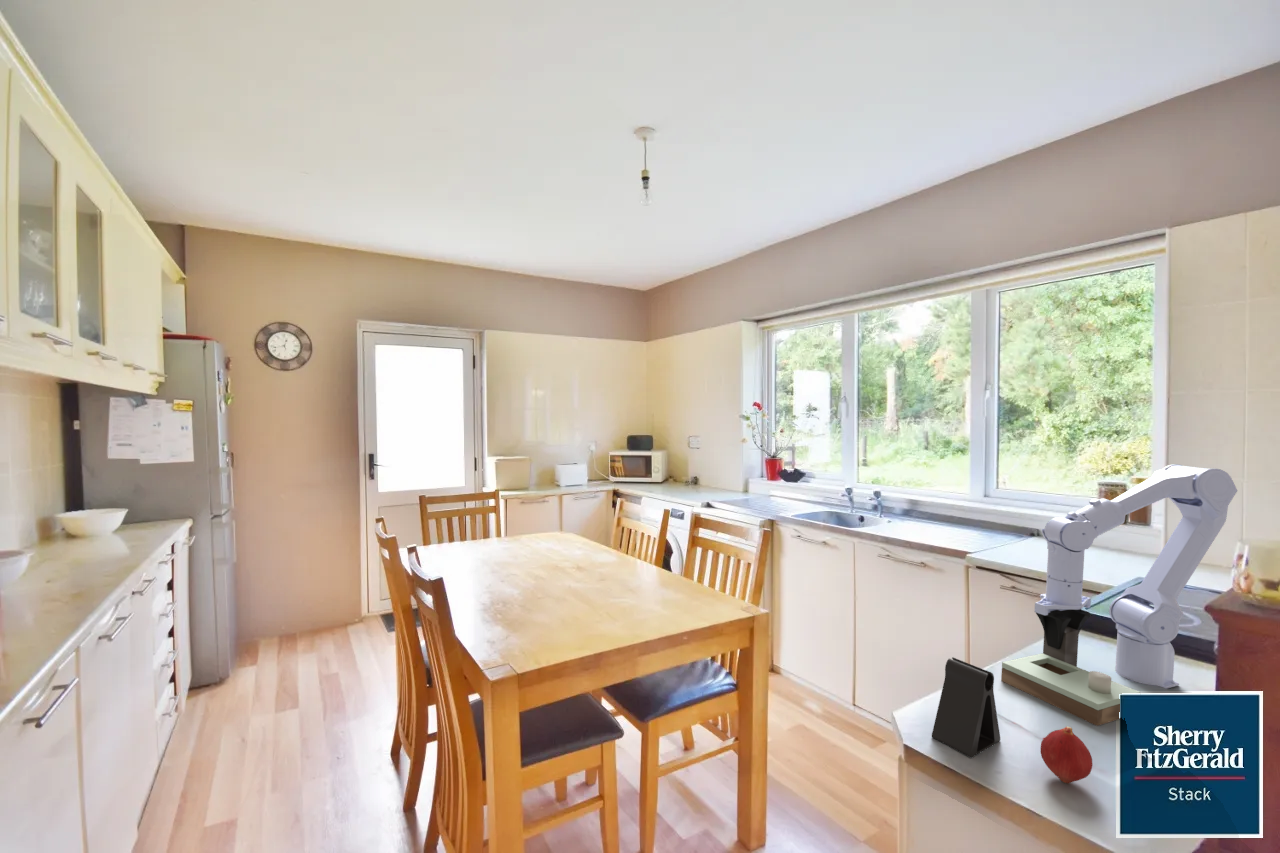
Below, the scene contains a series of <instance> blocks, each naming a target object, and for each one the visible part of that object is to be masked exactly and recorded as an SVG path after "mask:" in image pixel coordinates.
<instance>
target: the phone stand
mask: <svg viewBox="0 0 1280 853" xmlns="http://www.w3.org/2000/svg"><path fill="white" fill-rule="evenodd" d="M944 670H945V671H944V681H943V686H942V689H941V693H940V699H939V701H938V702H939V703H938V707H937V711H936V714H935V720H934V725H933V727H932V728H933V729H932V732H931V738H933V739H934V738H935V740H936V739H937V740H936V741H938V742H940V743H942V744H944V745H946V746H948V747H949V748H951V749H953V750H955V751H957V752H959V753H960V754H962V755H964V756H967V757H968V758H970V759H973V758H974V757H976V756H977V755H979V754H981V753H983V752H984V751H986V750H987V748H988V749H989V748H991V747H993V746H995V745H996V744H998V743H999V742H1001V735H1000V734H1001V733H1000V727H999V720H998V714H997V706H996V699H995V694H994V685H995V684H994V683H995V676H994V673H993V672H991V671H988V670H986V669H984V668H981V667H978V666H975V665H973V664H970V663H968V662H965V661H963V660H960V659H958V658H956V657H954V656H953V657H951V658H948V659H947V661H946V662H945V666H944ZM994 744H995V745H994ZM992 745H993V746H992ZM982 751H983V752H982ZM980 752H981V753H980Z"/></svg>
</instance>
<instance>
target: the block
mask: <svg viewBox="0 0 1280 853" xmlns="http://www.w3.org/2000/svg"><path fill="white" fill-rule="evenodd" d="M1079 634H1080V632H1079V630H1076V629H1073V628H1070V627H1066V629H1065V632H1064V637H1063V641H1062V645H1061V648H1060V649H1056V648H1053V647H1050V646H1048V645H1047V641H1046V637H1045V633H1044V632H1043V646H1042V650H1043V651H1042V653H1043V654H1045V655H1048V656H1051V657H1053V658H1056V659H1058V660H1061V661H1063V662H1066V663H1068V664H1071V665H1073V666H1076V667H1078V652H1079V651H1078V650H1079V649H1078V648H1079Z"/></svg>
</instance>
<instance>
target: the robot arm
mask: <svg viewBox="0 0 1280 853" xmlns="http://www.w3.org/2000/svg"><path fill="white" fill-rule="evenodd" d="M1237 493H1238V489H1237V486H1236V485H1235V482H1234V480H1233V478H1232V476H1231V475H1230V474H1229V473H1228V472H1227V471H1225V470H1224V469H1220V468H1214V467H1213V468H1211V467H1210V468H1208V467H1207V468H1206V467H1198V466H1189V465H1182V464H1178V463H1174V464H1169V465H1166V466H1165V467H1163V468H1162V469H1158V470H1155V471H1154V472H1153V474H1152V475H1151V477H1149V478H1147V479H1145V480H1144V481H1142V482H1140V483H1139V484H1136V485H1135V486H1133V487H1131V488H1130V489H1129V490H1127V491H1125V492H1123V493H1122V494H1120V495H1118V496H1116V497H1114V498H1113V499H1111V500H1109V499H1108V498H1107V499H1106V498H1098V499H1097V498H1092V499H1091V500H1089V501H1088V503H1089V504H1087V505H1085V506H1083V507H1081V508H1079V509H1076V511H1075V510H1074V511H1068V512H1067V514H1066V516H1065V517H1062V516H1061V517H1060V516H1058V517H1053V518H1051V519H1050V520H1049V521H1047V523H1046V524H1045V527H1044V528H1042V529H1041V534H1042V537H1043V538H1044V540H1045V541H1046V544H1047V564H1046V571H1047V572H1046V585H1045V593H1042V594H1041V593H1040V595H1039V598H1040V600H1039V601H1036V602H1034V610H1033V611H1034V613H1035V614H1036V616H1037V617H1038V619H1039V621H1040V623H1041V626H1042V629H1043V634H1044V633H1045V637H1046V641H1047V645H1048V646H1050V647H1053V648H1056V649H1060V648H1061V645H1062V641H1063V637H1064V632H1065V629H1066V627H1070V628H1073V629H1076V630H1079V633H1080V632H1081V629H1082V628H1083V626H1084V624H1085V623H1086V622H1087V621H1088V619H1089V618H1090V617H1091V612H1090V611H1086V610H1085V609H1083V608H1086V609H1090V608H1091V602H1092V600H1091V599H1092V598H1091V597H1088V596H1084V595H1083V588H1084V587H1083V586H1084V585H1083V583H1084V568H1085V567H1084V563H1085V550H1089V549H1090V547H1091V546H1092V545H1093V543H1094V541H1095V539H1097V538H1098V537H1099V536H1102V535H1103V534H1105V533H1107V532H1109V531H1112V530H1113V529H1115V528H1117V527H1119V526H1121V525H1123V524H1124V523H1125V521H1126V515H1129V514H1131V513H1133V512H1134V513H1135V511H1139V510H1141V509H1142V508H1143V509H1144V508H1145V507H1148V506H1150V505H1152V504H1155V503H1156V502H1159V501H1162V500H1164V499H1166V498H1169V500H1170V501H1171V503H1173V504H1174V505H1175V506H1176V507H1177V508H1178V510H1179V511H1180V513H1181V518H1180V520H1179V522H1178V524H1177V525H1176V526H1175V529H1174V530H1173V531H1172V533H1171V535H1170V536H1169V538H1168V539H1167V542H1166V543H1165V545H1164V546H1163V548H1162V549H1161V551H1160V552H1159V554H1158V556H1157V557H1156V559H1155V561H1153V563H1152V564H1151V567H1150V568H1149V570H1148V572H1147V573H1146V575H1145V577H1144V578H1143V579H1142V581H1141V583H1138V584H1136V585H1133V586H1130V587H1127V588H1125V590H1124V591H1123V592H1122V594H1121V595H1119V596H1118V597H1115V598H1114V599H1113V600H1112V601H1111V603H1110V605H1109V609H1108V614H1109V616H1110V619H1111V620H1112V621H1113V622H1114V623H1115V629H1116V630H1117V632H1116V633H1117V634H1116V635H1117V636H1116V651H1115V667H1114V669H1115V670H1114V671H1115V673H1117V675H1119V676H1121V677H1122V678H1125V679H1127V680H1130V681H1132V682H1136V683H1140V684H1143V685H1149V686H1159V687H1162V688H1164V689H1170V688H1174V687H1177V686H1179V685H1180V683H1179V682H1178V681H1175V680H1174V673H1175V672H1174V669H1175V668H1174V667H1175V655H1176V654H1175V649H1174V647H1173V644H1171V642H1172V641H1173V640H1174V639H1176V637H1177V635H1178V633H1179V630H1180V621H1181V619H1182V618H1183V616H1184V612H1183V611H1182V608H1181V607H1180V605H1179V603H1178V602H1177V599H1178V598H1179V597H1180V594H1182V592H1183V590H1184V588H1185V586H1187V583H1188V582H1189V580H1190V579H1191V577H1192V575H1193V574H1194V572H1195V571H1196V569H1197V568H1198V566H1199V564H1200V563H1201V561H1202V560H1203V558H1204V557H1205V555H1206V554H1207V552H1208V551H1209V549H1210V547H1211V546H1212V544H1214V543H1213V542H1214V541H1215V540H1216V537H1217V536H1218V535H1219V534H1220V532H1221V530H1222V528H1223V527H1224V525H1225V524H1226V521H1227V516H1228V510H1229V505H1230V503H1231V502H1232V500H1233V499H1234V497H1235V496H1236V494H1237Z"/></svg>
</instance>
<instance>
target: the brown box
mask: <svg viewBox="0 0 1280 853" xmlns="http://www.w3.org/2000/svg"><path fill="white" fill-rule="evenodd" d="M1038 666H1040V667H1042V668H1045V669H1047V670H1050V671H1052V672H1054V673H1057V674H1059V675H1063V674H1067V673H1071V672H1068V671H1066V670H1063V669H1061V668H1059V667H1056V666H1054V665H1051V664H1049V663H1045V664H1041V665H1038ZM1000 681H1001V682H1003V683H1004V684H1007V685H1009V686H1010V687H1013V688H1015V689H1017V690H1019V691H1022V692H1024V693H1026V694H1028V695H1031V696H1033V697H1034V698H1036V699H1039V700H1041V701H1043V702H1045V703H1048V704H1050V705H1051V706H1054V707H1056V708H1058V709H1060V710H1062V711H1065V712H1066V713H1067V714H1068V713H1069V714H1070V715H1072V716H1074V717H1076V718H1079V719H1081V720H1083V721H1085V722H1088V723H1089V724H1091V725H1094V726H1096V727H1098V726H1102V725H1105V724H1108V723H1112V722H1114V721H1115V722H1116V721H1117V720H1120V719H1119V712H1120V704H1118V705H1114V706H1111V707H1108V708H1104V709H1101V710H1096V709H1094V708H1092V707H1089V706H1087V705H1085V704H1083V703H1080V702H1078V701H1076V700H1074V699H1072V698H1069V697H1067V696H1065V695H1063V694H1060V693H1058V692H1056V691H1054V690H1051V689H1049V688H1047V687H1045V686H1043V685H1040V684H1038V683H1036V682H1034V681H1031V680H1029V679H1027V678H1025V677H1022V676H1020V675H1018V674H1016V673H1014V672H1011V671H1009V670H1007V669H1005V668H1002V667H1001V679H1000Z"/></svg>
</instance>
